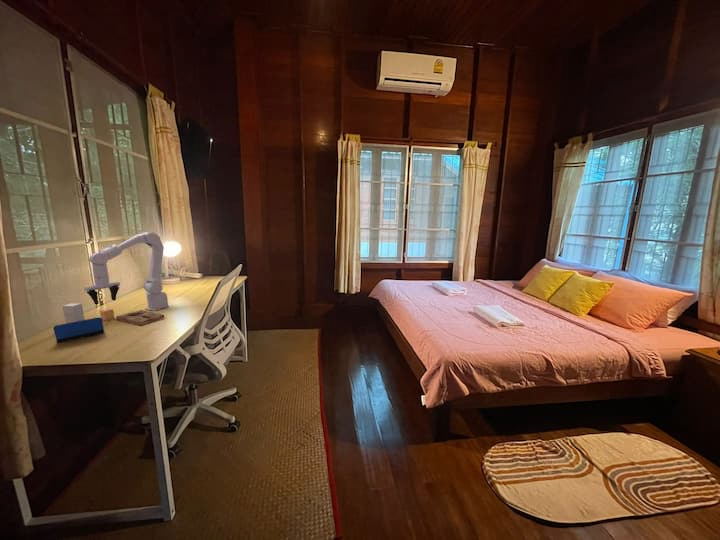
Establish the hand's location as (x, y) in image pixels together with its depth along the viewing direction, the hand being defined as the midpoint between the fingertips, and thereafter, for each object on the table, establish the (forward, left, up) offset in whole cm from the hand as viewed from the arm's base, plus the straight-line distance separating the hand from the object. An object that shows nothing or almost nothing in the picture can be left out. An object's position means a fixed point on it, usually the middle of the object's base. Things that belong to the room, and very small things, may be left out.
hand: (105, 302), depth 157 cm
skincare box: (+14, +2, -9) cm, 17 cm away
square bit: (0, 0, -9) cm, 9 cm away
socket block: (-7, +16, -9) cm, 20 cm away
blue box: (+18, +16, -10) cm, 26 cm away
